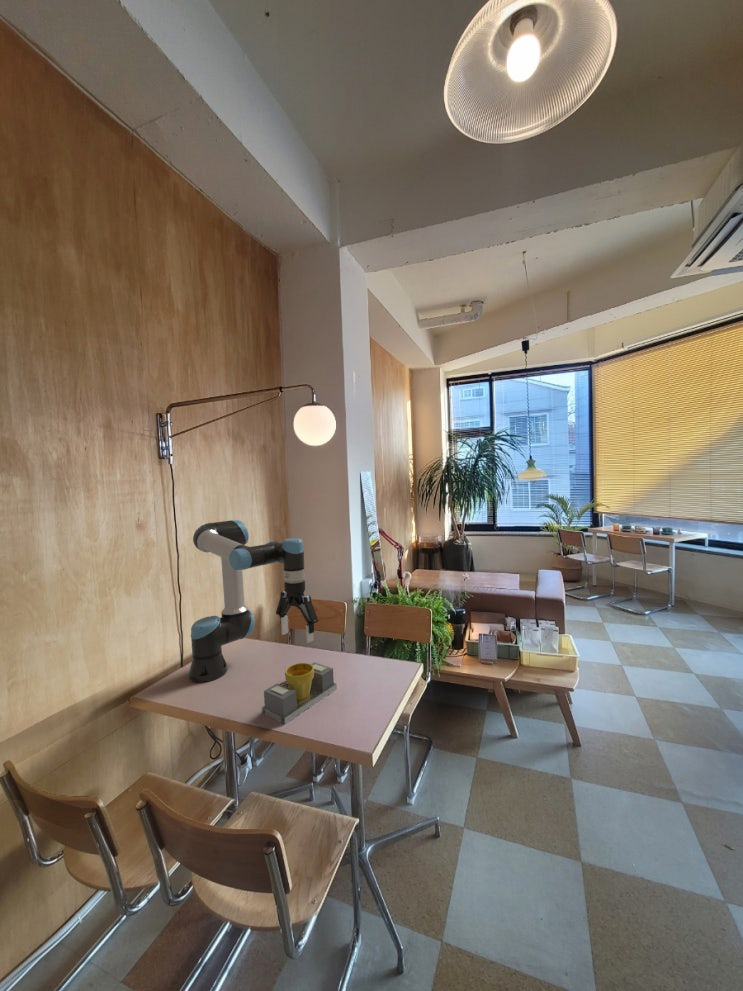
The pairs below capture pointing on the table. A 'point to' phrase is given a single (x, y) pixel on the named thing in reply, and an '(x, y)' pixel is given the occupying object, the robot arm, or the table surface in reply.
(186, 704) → the table surface
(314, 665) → the block
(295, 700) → the module near
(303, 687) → the plant pot
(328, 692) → the rail
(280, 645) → the table surface
